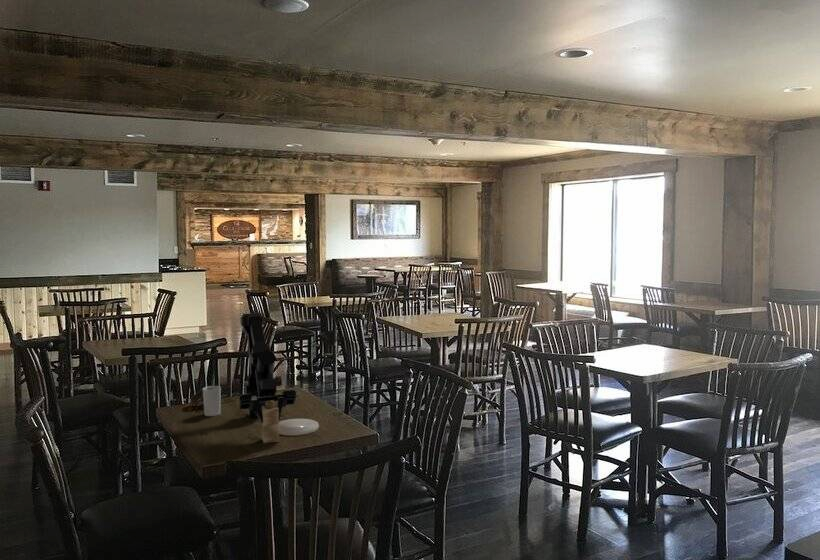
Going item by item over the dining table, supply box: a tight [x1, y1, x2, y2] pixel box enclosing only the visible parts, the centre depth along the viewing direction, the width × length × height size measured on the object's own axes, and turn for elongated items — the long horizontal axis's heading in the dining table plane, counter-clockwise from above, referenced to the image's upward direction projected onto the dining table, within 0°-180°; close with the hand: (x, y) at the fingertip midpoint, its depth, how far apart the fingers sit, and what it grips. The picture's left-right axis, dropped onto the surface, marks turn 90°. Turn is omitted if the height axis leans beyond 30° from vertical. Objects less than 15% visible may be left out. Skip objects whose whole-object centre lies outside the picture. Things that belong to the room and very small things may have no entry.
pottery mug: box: [189, 388, 203, 406], centre depth 255 cm, size 12×10×8 cm
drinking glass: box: [202, 385, 222, 417], centre depth 243 cm, size 7×7×10 cm
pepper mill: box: [260, 400, 280, 444], centre depth 212 cm, size 5×5×13 cm
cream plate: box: [279, 418, 320, 437], centre depth 225 cm, size 16×16×1 cm
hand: (270, 421), depth 211 cm, fingers closed on pepper mill, 5 cm apart
